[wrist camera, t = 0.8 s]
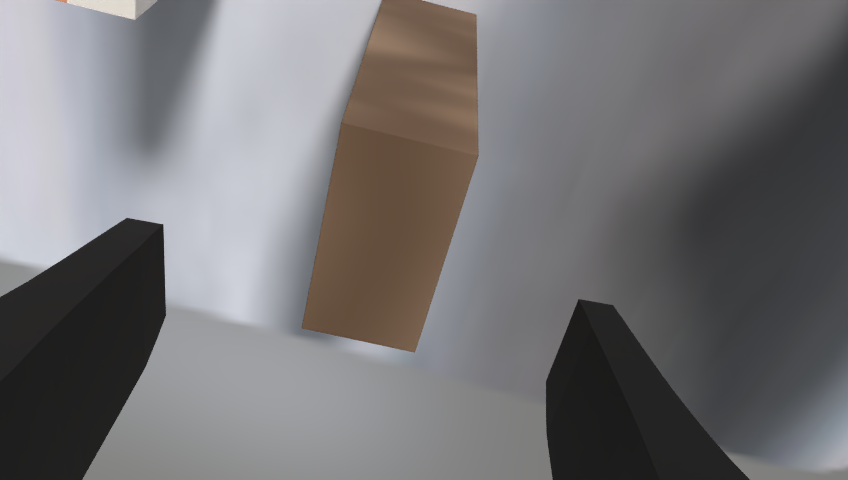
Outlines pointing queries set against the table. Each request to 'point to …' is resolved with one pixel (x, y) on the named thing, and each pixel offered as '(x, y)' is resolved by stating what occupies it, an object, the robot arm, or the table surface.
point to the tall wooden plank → (397, 176)
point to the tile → (116, 6)
